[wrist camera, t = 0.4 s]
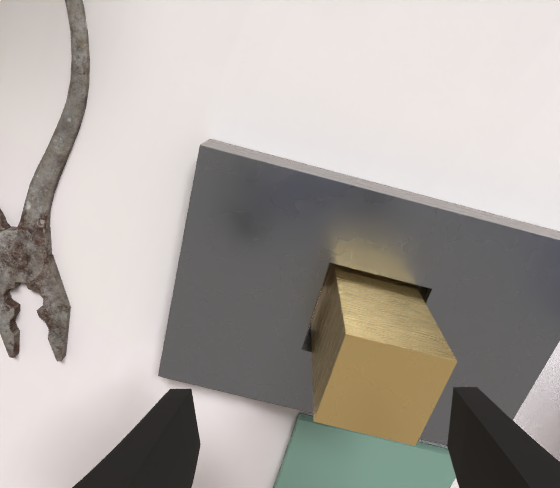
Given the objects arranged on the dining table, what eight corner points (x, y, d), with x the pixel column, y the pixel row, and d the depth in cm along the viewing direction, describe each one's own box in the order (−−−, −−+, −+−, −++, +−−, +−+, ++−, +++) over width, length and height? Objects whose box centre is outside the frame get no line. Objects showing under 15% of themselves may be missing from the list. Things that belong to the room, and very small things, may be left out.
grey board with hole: (582, 237, 20) (611, 253, 18) (476, 427, 24) (491, 456, 22) (209, 138, 19) (199, 145, 17) (169, 352, 23) (157, 375, 22)
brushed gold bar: (409, 275, 21) (457, 361, 15) (383, 340, 23) (415, 445, 16) (332, 255, 21) (345, 333, 14) (310, 322, 22) (313, 421, 16)
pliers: (50, -98, 16) (175, 349, 23) (62, -89, 17) (180, 340, 24) (-175, -48, 17) (10, 366, 24) (-153, -41, 18) (20, 356, 25)
